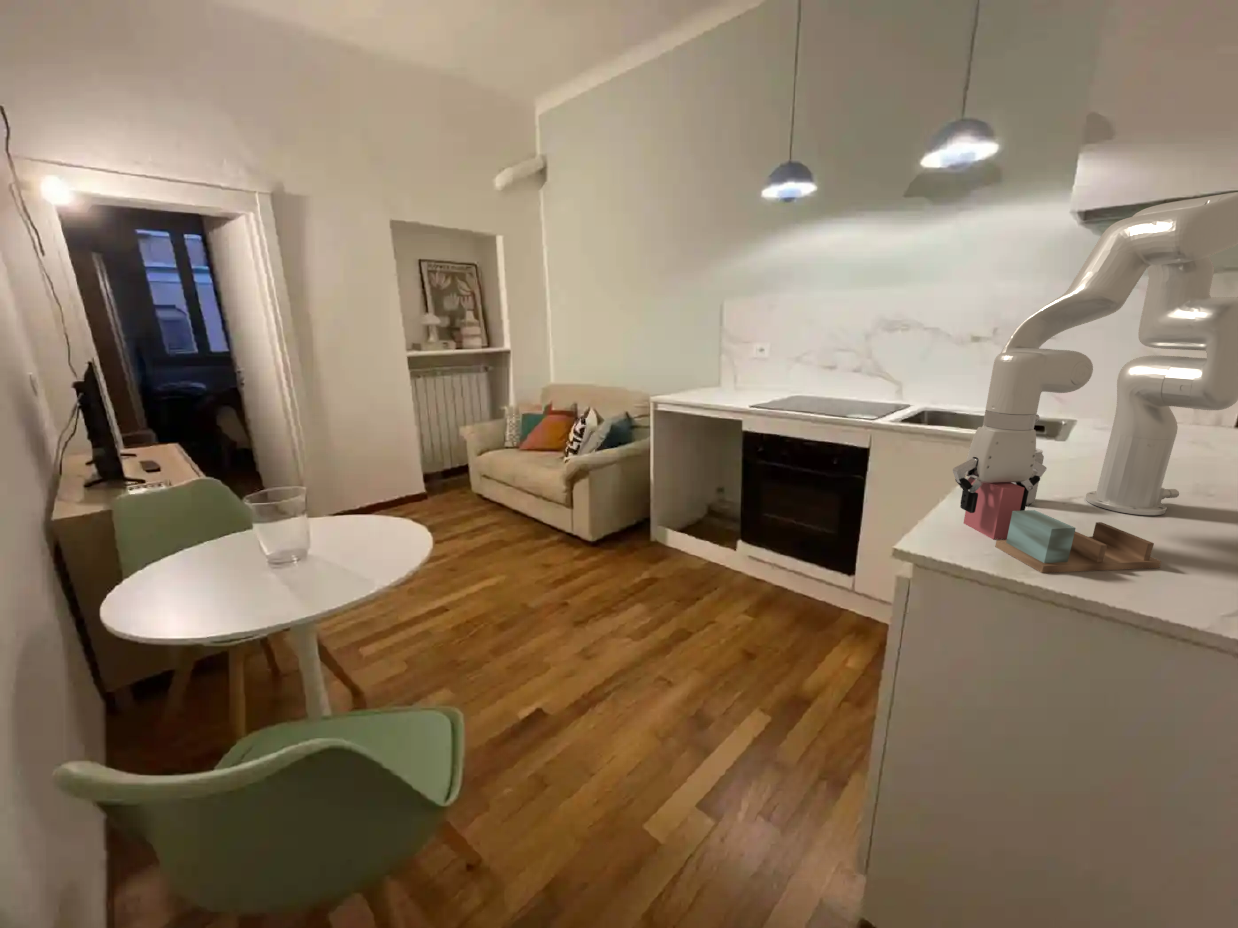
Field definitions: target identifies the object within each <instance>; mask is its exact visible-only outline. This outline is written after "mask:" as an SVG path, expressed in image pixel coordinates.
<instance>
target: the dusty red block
mask: <svg viewBox="0 0 1238 928" xmlns="http://www.w3.org/2000/svg"><path fill="white" fill-rule="evenodd" d="M974 482H975V480H974V481H973V482H972V483H971V485H972V484H973V483H974ZM975 492H976V493H978V499H977V505H976V510H975V512H974V513H970V512H968V511H966V510H965V513H964V519H963V524H964V525H966V526H968V527H970V528H972V529H973V530H975V531H977V532H978V533H980V534H982V535H984V536H986V537H988V538H989V539H991V540H994V541H995V540H1007V536H1008V531H1009V526H1010V521H1011V516H1012V511H1020V508H1021V503H1022V498H1023V493H1024V487H1021V486H1019V485H1016V484H1014V483H1011V482H1008V483H983V484H982V485H981V486H980V487H979V488H978V489H977V490H976V491H975Z"/></svg>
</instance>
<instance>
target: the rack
mask: <svg viewBox="0 0 1238 928" xmlns="http://www.w3.org/2000/svg"><path fill="white" fill-rule="evenodd" d="M1076 529H1077V528H1076V527H1075V526H1072V525H1070V524H1067V523H1065V522H1063V521H1061V520H1059V519H1055V518H1054V517H1051V516H1050V515H1047V514H1044V513H1042V512H1040V511H1037V510H1035V509H1030V510H1029V509H1028V510H1026V509H1025V510H1023V511H1012V516H1011V521H1010V526H1009V531H1008V536H1007V539H997V540H996V541H995V548H997V549H999V550H1000V551H1002V552H1004V553H1006V554H1008V556H1009V555H1010V556H1011V557H1013V558H1014V559H1017V560H1018V561H1020V562H1022V563H1023V564H1025V565H1027V566H1029V567H1030V568H1033V569H1034V570H1036V571H1038V572H1039V573H1041V574H1045V573H1046V574H1047V573H1048V574H1049V573H1069V572H1070V573H1071V572H1073V573H1074V572H1091V571H1092V572H1093V571H1095V572H1097V571H1117V570H1119V571H1120V570H1140V569H1141V570H1142V569H1159V568H1160V566H1161V563H1162V561H1161V560H1160V559H1157V558H1154V557H1152V552H1153V548H1154V545H1155V542H1153V541H1150V540H1147V539H1145V538H1142V537H1139V536H1137V535H1134V534H1132V533H1129V532H1127V531H1124V530H1122V529H1119V528H1117V527H1114V526H1112V525H1109V524H1107V523H1104V522H1102V521H1098V522H1095V525H1094V528H1093V529H1094V530H1093V533H1092V536H1087V535H1084V534H1083V533H1081V532H1078V531H1076Z"/></svg>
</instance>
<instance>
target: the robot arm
mask: <svg viewBox="0 0 1238 928" xmlns="http://www.w3.org/2000/svg"><path fill="white" fill-rule="evenodd" d="M1236 246H1238V191H1237V192H1236V191H1235V192H1228V193H1222V194H1216V195H1210V196H1203V197H1198V198H1189V199H1183V200H1178V201H1177V200H1176V201H1172V202H1166V203H1161V204H1156V205H1152V206H1149V207H1146V208H1144V209H1141V210H1140V211H1138V212H1136V213H1135V214H1134V215H1132V216H1131V217H1126V218H1124V219H1121V220H1118V221H1116V222H1114V223H1112V224H1111V225H1109V227H1107V228H1106V229H1105V231H1104V232H1103V233H1102V234H1101V235H1100V238H1099V239H1098V241H1097V243H1095V245H1094V247H1093V248H1092V250H1091V252H1090V254H1089V255H1088V257H1087V258H1086V260H1085V261H1084V263H1083V265H1082V266H1081V267H1080V270H1079V271H1078V273H1077V275H1076V276H1075V277H1074V278H1073V280H1072V282H1071V284H1070V286H1069V288H1067V290H1066V291H1065V292H1064V293H1063V294H1062V295H1060V296H1059V297H1057V298H1055V299H1053V300H1052V301H1050V302H1049V303H1047V304H1045V305H1043V307H1041V308H1040V309H1038V310H1037V311H1036V312H1034V313H1032V314H1031V315H1030V316H1029V317H1027V318H1026V319H1025V320H1024V321H1023V322H1021V323H1020V324H1019V325H1018V326H1017V327H1016V329H1015V330H1014V331H1013V332H1012V333H1011V335H1010V336H1009V338H1008V340H1007V342H1006V343H1005V345H1004V346H1003V349H1002V350H1001V351H1000V353H999V354H997V356H996V357H995V358H994V361H993V365H992V372H991V376H990V382H989V387H988V388H989V389H988V395H987V400H986V406H985V411H984V417H983V422H982V426H978V427H977V429H976V431H975V433H974V435H973V438H972V440H971V444H970V446H969V448H968V449H969V450H968V452H967V453H968V454H967V457H966V460H965V461H964V462H963V463H961V464H958V465H957V466H955V467H953V468H952V473H953V475H954V479H955V482H956V483H957V485H958V486H959V488H960V489H961V490H962V492H961V498H960V506H959V508H960V509H962V510H964V511H965V512H966V511H968V512H970V513H974V512H975V510H976V505H977V499H978V493H976V492H975V491H976V490H977V489H978V488H979V487H980V486H981V485H982V484H983V483H1008V482H1014V483H1015V484H1016V485H1019V486H1021V487H1024V493H1023V498H1022V503H1021V508H1020V511H1023V510H1026V507H1027V505H1026V502H1027V497H1028V493H1029V491H1031V490H1033V486H1034V485H1035V484H1036V483H1038V482H1039V483H1040V481H1041V478H1042V476H1043V475H1044V473H1045V472H1046V471H1047V466H1046V465H1043V464H1040V463H1038V462H1036V461H1035V452H1036V448H1037V431H1036V429H1034V428H1035V425H1036V422H1038V421H1039V420H1040V415H1039V414H1038V413H1037V412H1038V409H1039V404H1040V399H1041V394H1042V393H1043V392H1045V393H1046V392H1047V393H1056V394H1068V393H1072V392H1076V391H1077V390H1080V389H1081V388H1083V387H1084V386H1085V385H1086V384H1087V383H1088V382H1089V381H1090V379H1091V378H1092V376H1093V372H1094V366H1093V362H1092V360H1091V359H1090V358H1089V357H1088V356H1087V355H1086V354H1085V353H1082V352H1079V351H1075V350H1067V349H1052V348H1041V347H1042V345H1043V344H1045V343H1046V342H1047V341H1048V340H1049V339H1052V338H1053V337H1055V336H1057V335H1058V334H1060V333H1062V332H1065V331H1067V330H1069V329H1072V328H1075V327H1077V326H1081V325H1085V324H1088V323H1091V322H1093V321H1096V320H1100V319H1102V318H1104V317H1107V316H1111V315H1112V314H1114V313H1116V312H1117V311H1119V310H1121V308H1123V306H1124V305H1125V302H1126V301H1127V300H1128V298H1129V297H1130V295H1131V294H1132V292H1133V290H1134V289H1135V288H1136V285H1137V284H1138V282H1139V281H1140V280H1141V278H1142V276H1143V274H1144V273H1145V271H1146V270H1147V275H1148V279H1147V280H1148V281H1147V287H1146V290H1145V291H1146V293H1145V297H1144V302H1143V305H1142V306H1143V307H1142V311H1141V317H1140V321H1139V327H1138V340H1139V343H1140V344H1142V345H1143V346H1145V347H1148V348H1152V349H1153V348H1154V349H1163V350H1164V349H1165V350H1181V351H1182V350H1183V351H1186V350H1187V351H1204V352H1205V353H1206V357H1192V356H1190V357H1189V356H1179V355H1176V356H1175V355H1143V356H1139V357H1135V358H1133V359H1131V360H1129V361H1128V362H1126V364H1124V365H1123V366H1121V367H1122V368H1121V369H1120V370H1119V371H1118V376H1117V381H1116V394H1117V395H1116V408H1115V412H1114V419H1113V423H1112V428H1111V432H1110V436H1109V439H1108V444H1107V448H1106V451H1105V456H1104V460H1103V464H1102V468H1101V472H1100V476H1099V481H1098V483H1097V487H1096V491H1089V492H1087V493H1086V494H1085V498H1084V499H1085V500H1086V502H1088V503H1089V504H1091V505H1093V506H1096V507H1099V508H1103V509H1105V510H1108V511H1113V512H1117V513H1122V514H1130V515H1135V516H1136V515H1137V516H1161V515H1164V514H1166V511H1167V506H1166V505H1165V503H1162V500H1164V499H1175V498H1178V497H1180V496H1179V495H1180V493H1179V490H1178V489H1176V488H1164V487H1162V486H1163V483H1164V481H1165V476H1166V473H1167V469H1168V466H1169V462H1170V459H1171V455H1172V451H1173V448H1174V445H1175V441H1176V437H1177V434H1178V422H1177V419H1176V417H1175V415H1174V413H1173V411H1172V410H1171V407H1174V408H1175V407H1176V408H1185V409H1194V410H1202V411H1220V410H1225V409H1229V408H1230V407H1232V406H1233V405H1235V404H1236V403H1237V402H1238V296H1222V297H1221V296H1219V297H1216V296H1215V297H1211V295H1210V293H1211V289H1212V288H1211V287H1212V284H1213V278H1214V273H1215V268H1214V264H1213V261H1212V259H1211V258H1210V257H1211V256H1213V255H1216V254H1218V253H1221V252H1223V251H1226V250H1228V249H1231V248H1234V247H1236ZM966 476H967V477H966ZM974 480H975V482H974V483H973V484H972V485H971V483H972V482H973V481H974ZM1039 483H1038V484H1039Z"/></svg>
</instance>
